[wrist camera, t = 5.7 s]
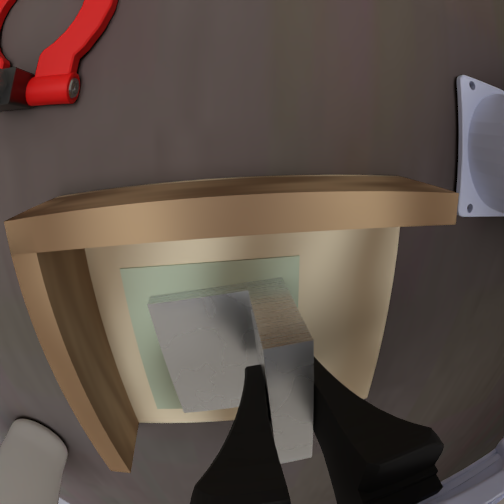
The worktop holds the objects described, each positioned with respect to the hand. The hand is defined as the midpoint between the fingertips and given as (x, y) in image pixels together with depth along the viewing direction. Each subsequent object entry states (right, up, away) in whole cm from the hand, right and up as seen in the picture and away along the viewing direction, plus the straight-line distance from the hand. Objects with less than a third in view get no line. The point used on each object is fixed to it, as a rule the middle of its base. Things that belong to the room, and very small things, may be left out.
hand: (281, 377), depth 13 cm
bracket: (-2, +1, +2) cm, 3 cm away
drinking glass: (-18, -10, +5) cm, 21 cm away
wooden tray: (-2, +2, +3) cm, 4 cm away
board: (-2, +2, +3) cm, 4 cm away
